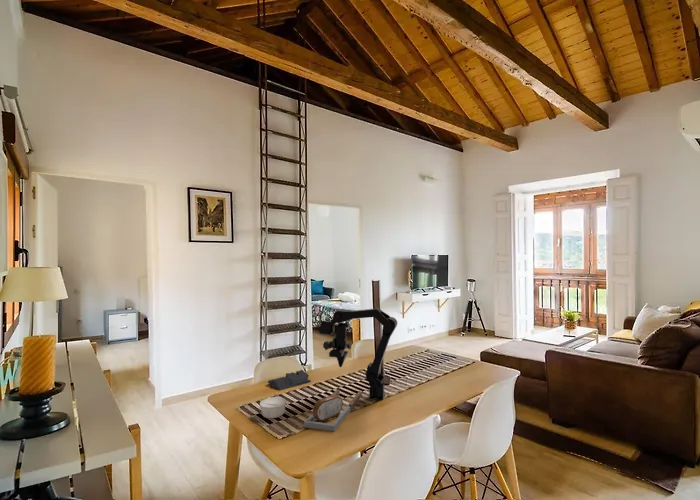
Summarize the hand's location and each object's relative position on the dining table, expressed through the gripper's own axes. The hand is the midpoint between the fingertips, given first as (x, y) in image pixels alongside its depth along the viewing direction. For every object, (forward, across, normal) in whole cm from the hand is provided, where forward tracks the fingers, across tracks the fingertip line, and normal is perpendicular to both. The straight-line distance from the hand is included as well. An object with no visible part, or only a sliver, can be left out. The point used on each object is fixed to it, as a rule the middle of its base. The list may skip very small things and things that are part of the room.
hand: (340, 366), depth 186 cm
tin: (+14, +27, +3) cm, 30 cm away
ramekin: (+14, +29, -22) cm, 39 cm away
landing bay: (+13, +28, +3) cm, 31 cm away
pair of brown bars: (+13, +9, +4) cm, 16 cm away
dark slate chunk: (+14, -10, -32) cm, 36 cm away
